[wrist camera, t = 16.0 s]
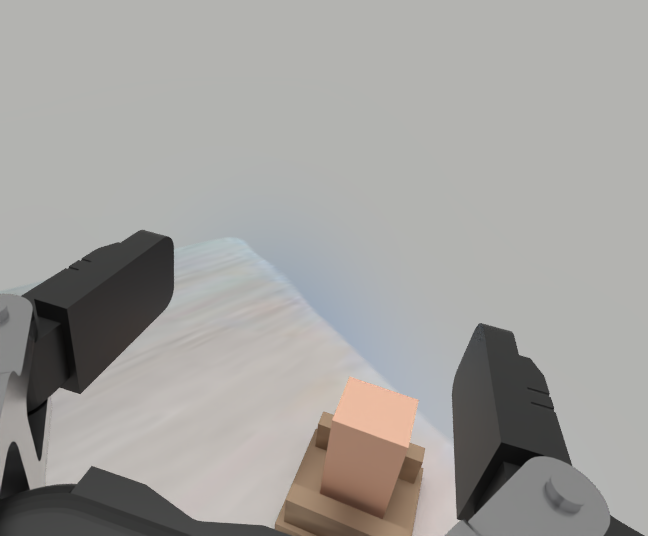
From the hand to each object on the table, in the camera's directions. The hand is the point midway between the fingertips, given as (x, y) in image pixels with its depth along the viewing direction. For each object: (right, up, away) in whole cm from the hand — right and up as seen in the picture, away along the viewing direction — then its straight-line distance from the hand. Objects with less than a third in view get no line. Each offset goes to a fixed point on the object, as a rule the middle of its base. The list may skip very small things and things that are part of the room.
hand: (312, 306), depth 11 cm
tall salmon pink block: (+3, -16, +21) cm, 26 cm away
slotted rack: (+2, -17, +21) cm, 27 cm away
